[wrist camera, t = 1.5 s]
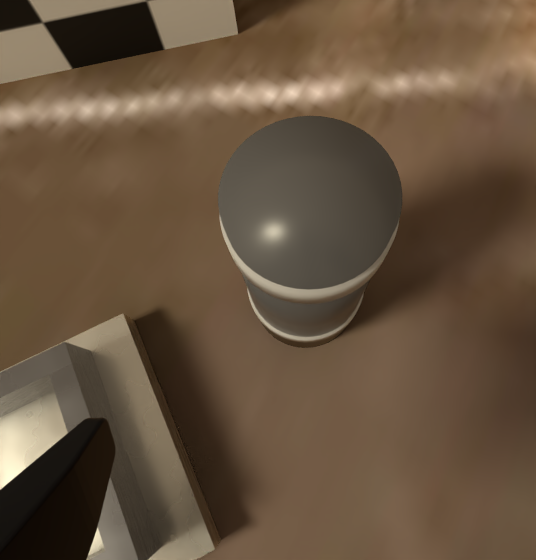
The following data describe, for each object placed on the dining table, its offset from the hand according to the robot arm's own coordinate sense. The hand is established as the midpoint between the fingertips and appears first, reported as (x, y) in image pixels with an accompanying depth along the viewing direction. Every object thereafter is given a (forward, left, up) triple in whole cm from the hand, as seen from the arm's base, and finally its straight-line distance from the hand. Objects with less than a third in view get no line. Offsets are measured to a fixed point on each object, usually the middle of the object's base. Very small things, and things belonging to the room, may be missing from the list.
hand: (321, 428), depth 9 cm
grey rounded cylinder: (+5, -3, -12) cm, 14 cm away
